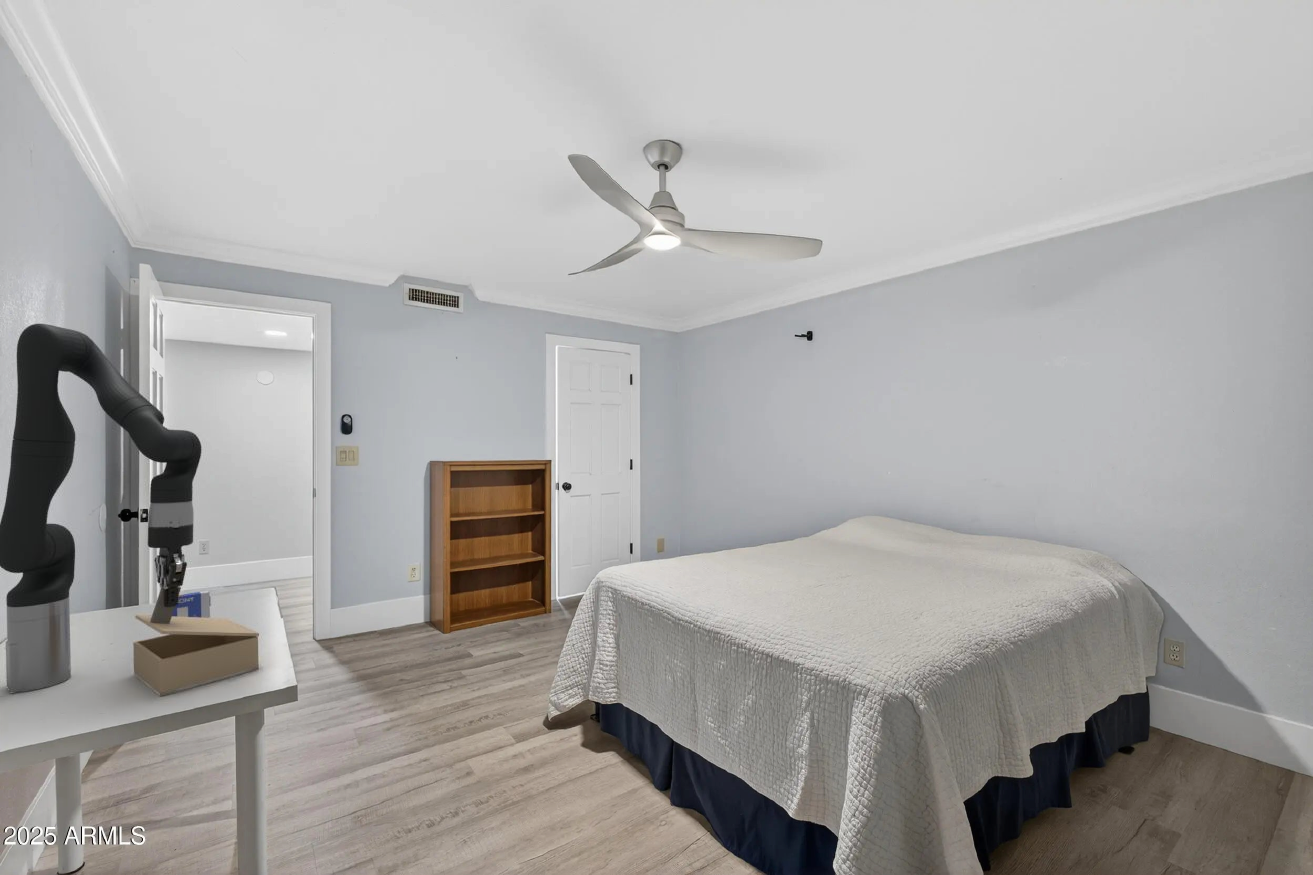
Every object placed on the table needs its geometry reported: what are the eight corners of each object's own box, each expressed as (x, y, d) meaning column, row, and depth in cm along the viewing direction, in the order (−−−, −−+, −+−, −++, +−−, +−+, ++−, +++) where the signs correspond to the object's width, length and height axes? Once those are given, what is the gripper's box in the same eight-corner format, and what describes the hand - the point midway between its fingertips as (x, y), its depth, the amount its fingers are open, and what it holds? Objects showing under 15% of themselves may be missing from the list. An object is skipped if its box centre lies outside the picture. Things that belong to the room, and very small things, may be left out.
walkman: (172, 644, 150) (171, 596, 150) (171, 642, 152) (170, 594, 152) (211, 637, 155) (210, 590, 155) (210, 634, 157) (209, 588, 157)
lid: (161, 634, 118) (175, 591, 120) (134, 617, 130) (147, 579, 132) (258, 636, 131) (269, 598, 133) (225, 621, 144) (236, 586, 145)
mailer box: (160, 696, 118) (159, 660, 118) (134, 674, 130) (133, 642, 130) (258, 669, 131) (257, 636, 131) (226, 651, 143) (225, 622, 143)
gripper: (139, 522, 129) (138, 604, 128) (157, 527, 120) (156, 614, 120) (183, 519, 135) (181, 597, 134) (203, 524, 126) (201, 607, 126)
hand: (169, 605), depth 127 cm, fingers closed
